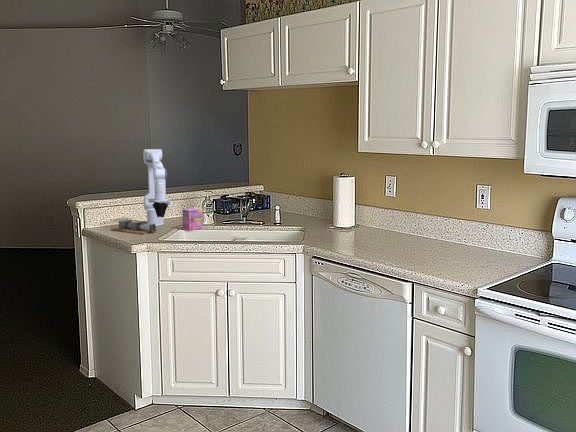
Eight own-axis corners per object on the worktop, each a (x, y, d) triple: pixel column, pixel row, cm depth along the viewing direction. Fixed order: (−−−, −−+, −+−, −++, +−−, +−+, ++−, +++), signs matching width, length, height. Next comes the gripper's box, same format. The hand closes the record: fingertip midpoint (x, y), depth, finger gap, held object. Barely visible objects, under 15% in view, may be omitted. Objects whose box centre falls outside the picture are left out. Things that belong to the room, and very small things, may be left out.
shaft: (127, 226, 324) (127, 220, 324) (155, 230, 316) (155, 224, 315) (122, 228, 321) (122, 221, 320) (151, 231, 312) (151, 225, 312)
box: (189, 231, 321) (189, 210, 319) (182, 230, 325) (182, 209, 323) (203, 228, 330) (203, 208, 328) (196, 227, 333) (195, 207, 331)
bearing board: (125, 226, 330) (125, 218, 329) (156, 230, 321) (156, 222, 320) (110, 230, 320) (110, 221, 319) (142, 234, 310) (142, 225, 309)
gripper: (144, 191, 308) (144, 216, 310) (166, 193, 302) (166, 219, 304) (152, 189, 314) (153, 214, 316) (174, 191, 308) (175, 217, 310)
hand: (160, 216), depth 311 cm, fingers closed
